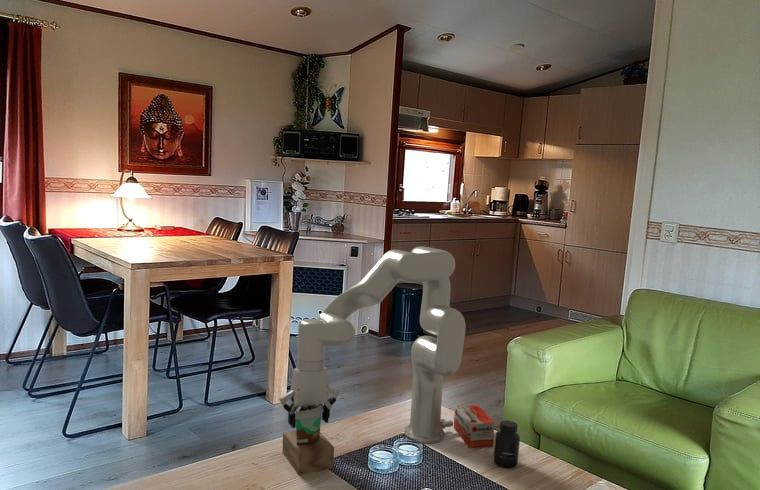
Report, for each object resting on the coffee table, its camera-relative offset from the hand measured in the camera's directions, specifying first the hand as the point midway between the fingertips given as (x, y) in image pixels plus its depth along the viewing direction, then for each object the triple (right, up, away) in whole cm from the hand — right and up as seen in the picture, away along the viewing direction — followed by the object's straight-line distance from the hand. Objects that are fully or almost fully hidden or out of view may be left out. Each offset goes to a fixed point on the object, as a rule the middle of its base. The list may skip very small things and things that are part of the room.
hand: (308, 423), depth 160 cm
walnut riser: (-1, -11, +1) cm, 11 cm away
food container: (+1, -5, +1) cm, 5 cm away
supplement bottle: (+56, -13, +5) cm, 58 cm away
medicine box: (+49, -11, +21) cm, 55 cm away
